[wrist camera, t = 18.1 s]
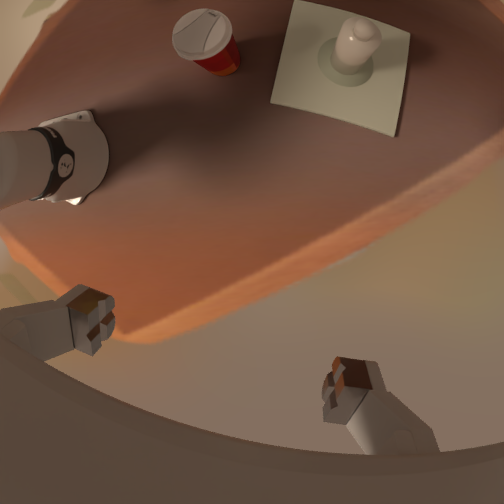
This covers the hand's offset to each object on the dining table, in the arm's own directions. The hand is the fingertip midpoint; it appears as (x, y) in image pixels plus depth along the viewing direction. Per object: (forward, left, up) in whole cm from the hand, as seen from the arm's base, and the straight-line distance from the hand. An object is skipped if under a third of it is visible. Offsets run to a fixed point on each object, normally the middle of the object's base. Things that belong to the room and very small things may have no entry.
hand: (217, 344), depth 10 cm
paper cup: (-13, +20, -39) cm, 46 cm away
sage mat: (+6, +24, -39) cm, 46 cm away
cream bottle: (+6, +24, -38) cm, 45 cm away
